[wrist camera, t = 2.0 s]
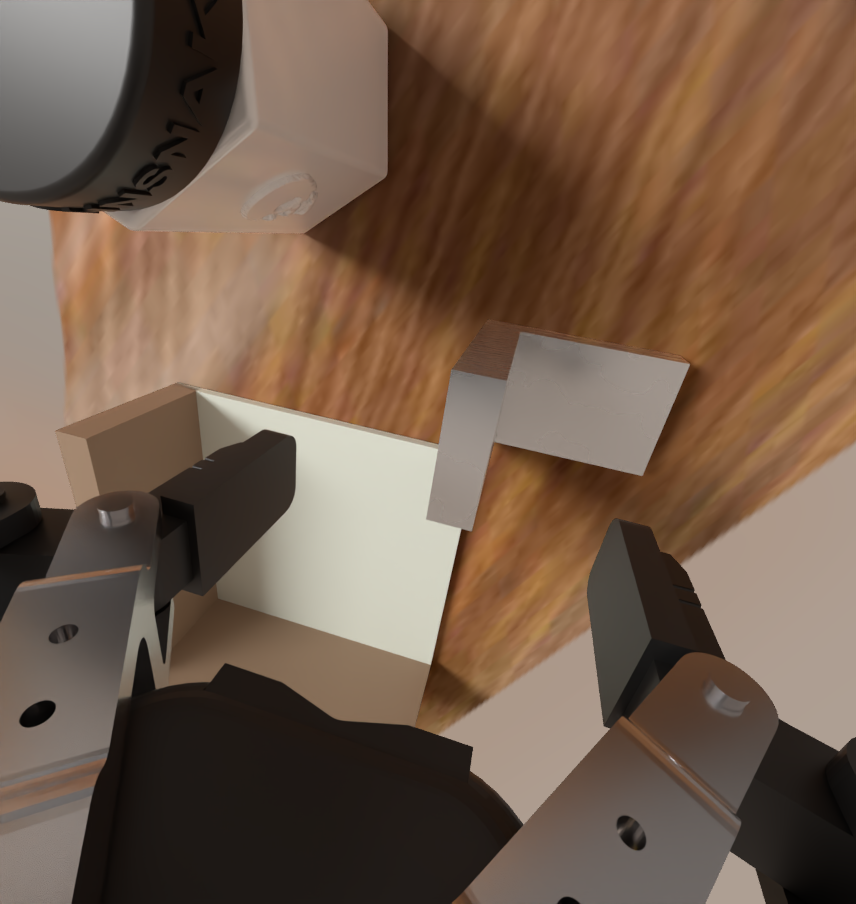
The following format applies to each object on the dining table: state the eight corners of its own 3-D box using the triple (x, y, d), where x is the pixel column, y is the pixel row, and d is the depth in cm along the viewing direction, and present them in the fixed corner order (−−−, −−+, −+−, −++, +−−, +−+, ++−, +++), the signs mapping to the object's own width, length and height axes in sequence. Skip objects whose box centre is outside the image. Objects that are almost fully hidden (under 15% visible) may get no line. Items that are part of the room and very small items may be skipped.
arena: (178, 382, 24) (54, 430, 18) (478, 454, 22) (452, 536, 16) (205, 602, 32) (126, 687, 26) (429, 673, 30) (399, 785, 24)
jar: (270, 264, 20) (-21, 292, 10) (160, 70, 18) (-378, -163, 8) (440, 149, 17) (268, 4, 6) (331, -109, 15) (-225, -1010, 4)
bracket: (467, 422, 22) (426, 519, 14) (488, 318, 19) (451, 369, 12) (636, 460, 20) (687, 588, 13) (679, 355, 18) (772, 436, 11)
